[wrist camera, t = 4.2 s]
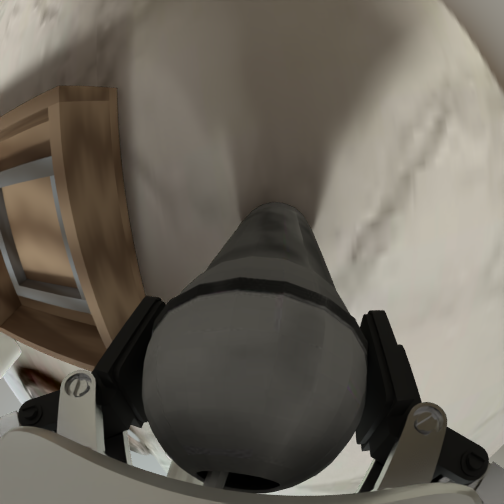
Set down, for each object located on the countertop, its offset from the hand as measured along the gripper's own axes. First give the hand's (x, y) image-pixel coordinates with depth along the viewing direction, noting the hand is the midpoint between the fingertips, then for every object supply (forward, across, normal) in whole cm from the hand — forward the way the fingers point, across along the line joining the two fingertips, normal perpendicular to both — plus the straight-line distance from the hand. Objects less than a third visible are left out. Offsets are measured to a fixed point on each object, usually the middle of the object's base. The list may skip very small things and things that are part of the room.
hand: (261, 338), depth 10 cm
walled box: (+10, +22, 0) cm, 24 cm away
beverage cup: (+10, 0, 0) cm, 10 cm away
